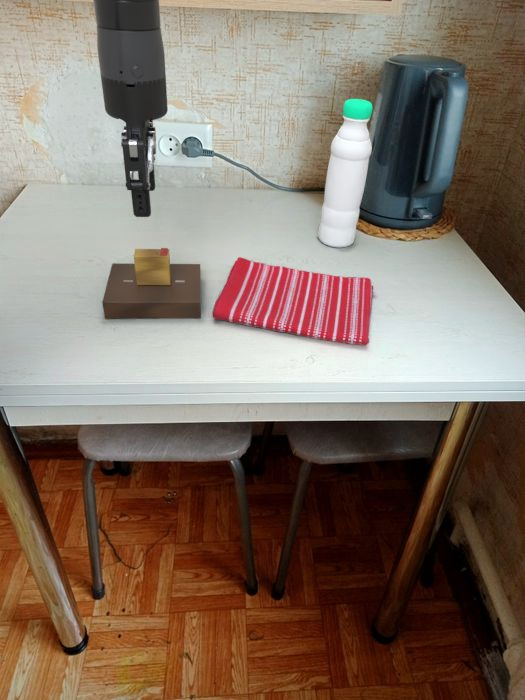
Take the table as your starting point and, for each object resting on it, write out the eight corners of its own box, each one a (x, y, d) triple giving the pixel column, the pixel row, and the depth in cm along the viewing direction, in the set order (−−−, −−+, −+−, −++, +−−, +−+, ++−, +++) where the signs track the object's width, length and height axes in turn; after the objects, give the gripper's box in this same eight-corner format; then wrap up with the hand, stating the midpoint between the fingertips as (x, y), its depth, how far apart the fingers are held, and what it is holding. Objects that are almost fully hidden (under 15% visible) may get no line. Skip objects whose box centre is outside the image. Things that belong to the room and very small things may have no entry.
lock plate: (104, 319, 75) (101, 301, 73) (114, 279, 83) (112, 262, 81) (200, 318, 76) (200, 301, 74) (200, 279, 85) (200, 262, 83)
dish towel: (237, 266, 89) (237, 253, 87) (373, 289, 86) (376, 275, 84) (208, 322, 76) (208, 308, 74) (367, 351, 73) (370, 336, 71)
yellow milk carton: (136, 285, 77) (133, 254, 74) (138, 277, 79) (135, 247, 75) (170, 285, 77) (168, 254, 74) (171, 277, 79) (169, 247, 76)
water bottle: (312, 243, 97) (332, 102, 81) (323, 228, 102) (343, 93, 86) (348, 252, 95) (375, 109, 79) (357, 236, 100) (384, 100, 84)
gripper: (108, 57, 65) (123, 181, 75) (90, 84, 54) (110, 225, 64) (168, 60, 66) (174, 183, 76) (162, 87, 55) (170, 226, 65)
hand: (145, 202), depth 70 cm, fingers open, 8 cm apart
